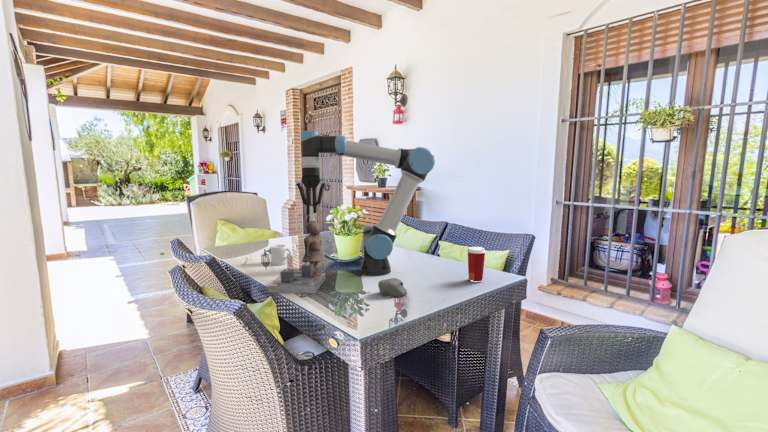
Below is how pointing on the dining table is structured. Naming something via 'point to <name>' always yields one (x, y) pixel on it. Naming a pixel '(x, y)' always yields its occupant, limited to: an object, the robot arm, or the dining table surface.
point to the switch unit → (298, 283)
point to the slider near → (287, 275)
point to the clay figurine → (313, 245)
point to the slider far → (307, 269)
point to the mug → (279, 254)
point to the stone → (392, 287)
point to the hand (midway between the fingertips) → (312, 220)
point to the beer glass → (476, 263)
